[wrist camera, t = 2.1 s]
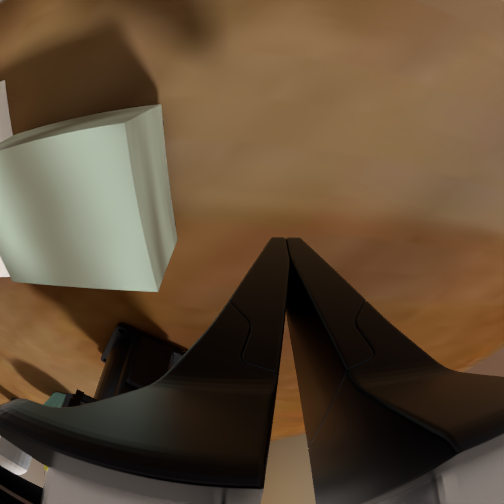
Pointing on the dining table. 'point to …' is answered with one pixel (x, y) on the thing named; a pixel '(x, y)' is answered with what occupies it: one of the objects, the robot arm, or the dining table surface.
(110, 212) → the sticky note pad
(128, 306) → the dining table surface
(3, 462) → the humidifier
